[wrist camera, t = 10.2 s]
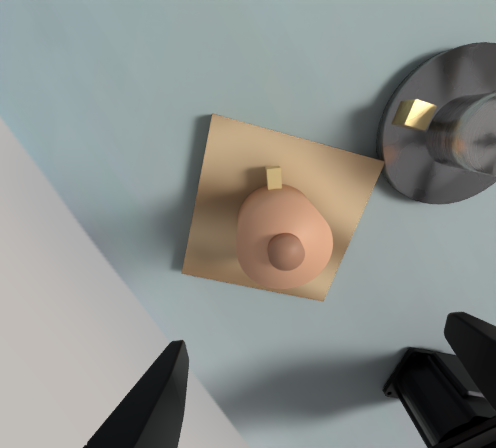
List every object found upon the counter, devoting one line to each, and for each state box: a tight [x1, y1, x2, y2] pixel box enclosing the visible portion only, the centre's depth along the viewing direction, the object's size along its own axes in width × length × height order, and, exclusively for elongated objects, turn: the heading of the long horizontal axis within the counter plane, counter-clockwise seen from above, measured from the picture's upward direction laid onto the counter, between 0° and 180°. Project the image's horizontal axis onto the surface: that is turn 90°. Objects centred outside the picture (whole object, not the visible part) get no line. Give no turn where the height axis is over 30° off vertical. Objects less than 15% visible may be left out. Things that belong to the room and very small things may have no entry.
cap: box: [236, 166, 333, 289], centre depth 17 cm, size 6×8×5 cm
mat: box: [182, 114, 385, 301], centre depth 20 cm, size 12×12×1 cm
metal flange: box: [377, 42, 496, 204], centre depth 16 cm, size 10×10×5 cm
